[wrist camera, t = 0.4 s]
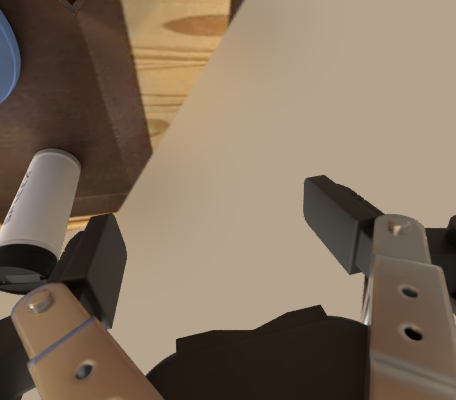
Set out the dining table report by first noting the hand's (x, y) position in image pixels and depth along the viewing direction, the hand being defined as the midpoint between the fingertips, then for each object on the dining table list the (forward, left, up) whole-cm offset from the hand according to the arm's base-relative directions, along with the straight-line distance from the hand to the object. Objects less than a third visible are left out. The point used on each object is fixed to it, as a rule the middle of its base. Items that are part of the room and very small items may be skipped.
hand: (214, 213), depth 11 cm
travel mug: (+1, -26, -29) cm, 39 cm away
